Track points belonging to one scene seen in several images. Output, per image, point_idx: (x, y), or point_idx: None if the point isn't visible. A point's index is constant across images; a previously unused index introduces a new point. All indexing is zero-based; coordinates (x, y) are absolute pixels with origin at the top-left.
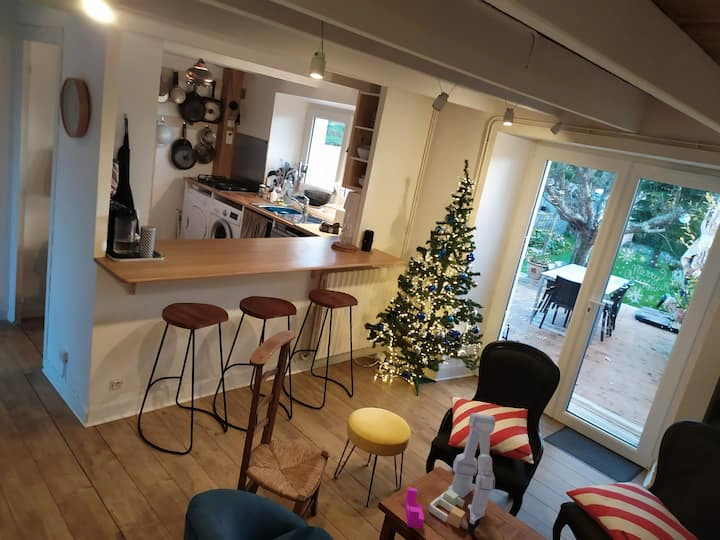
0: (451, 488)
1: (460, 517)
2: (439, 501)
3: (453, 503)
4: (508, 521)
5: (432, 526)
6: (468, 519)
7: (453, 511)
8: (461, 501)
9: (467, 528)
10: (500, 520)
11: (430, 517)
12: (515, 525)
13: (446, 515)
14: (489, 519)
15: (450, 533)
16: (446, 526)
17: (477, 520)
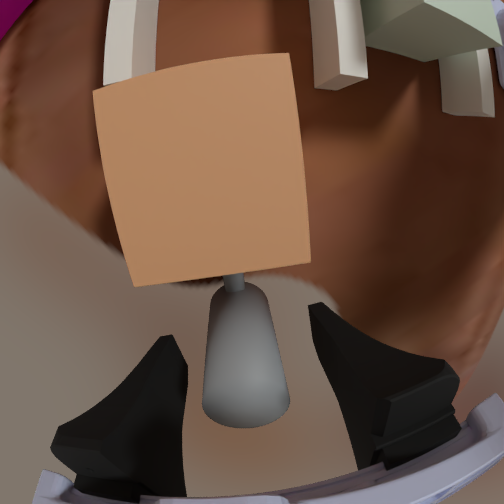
0: (497, 8)
1: (133, 272)
2: None
3: (396, 29)
4: (472, 357)
5: (19, 89)
6: (61, 461)
7: (134, 118)
8: (475, 92)
9: (229, 290)
10: (466, 339)
11: (86, 5)
12: (460, 381)
13: (114, 74)
14: (450, 309)
15: (68, 218)
16: (98, 141)
17: (328, 367)
